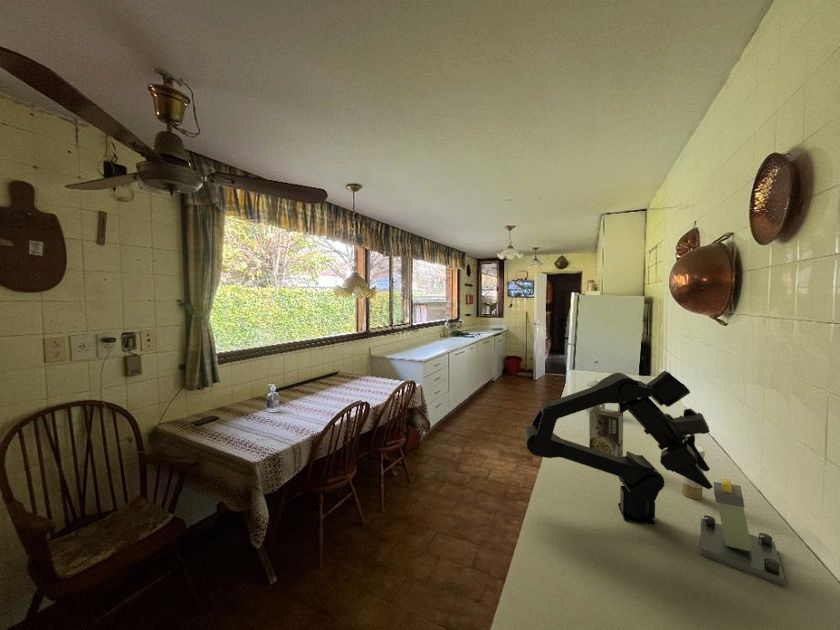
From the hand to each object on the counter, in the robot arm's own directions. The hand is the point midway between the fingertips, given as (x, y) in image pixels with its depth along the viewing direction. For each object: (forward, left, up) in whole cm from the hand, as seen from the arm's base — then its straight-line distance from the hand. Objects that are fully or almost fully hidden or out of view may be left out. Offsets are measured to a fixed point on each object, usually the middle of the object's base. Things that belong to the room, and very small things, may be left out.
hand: (709, 478), depth 73 cm
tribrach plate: (+4, -3, -14) cm, 15 cm away
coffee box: (-14, +34, -14) cm, 40 cm away
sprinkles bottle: (+4, +18, -14) cm, 24 cm away
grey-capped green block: (+4, -3, -12) cm, 13 cm away
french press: (-9, +81, -14) cm, 83 cm away
